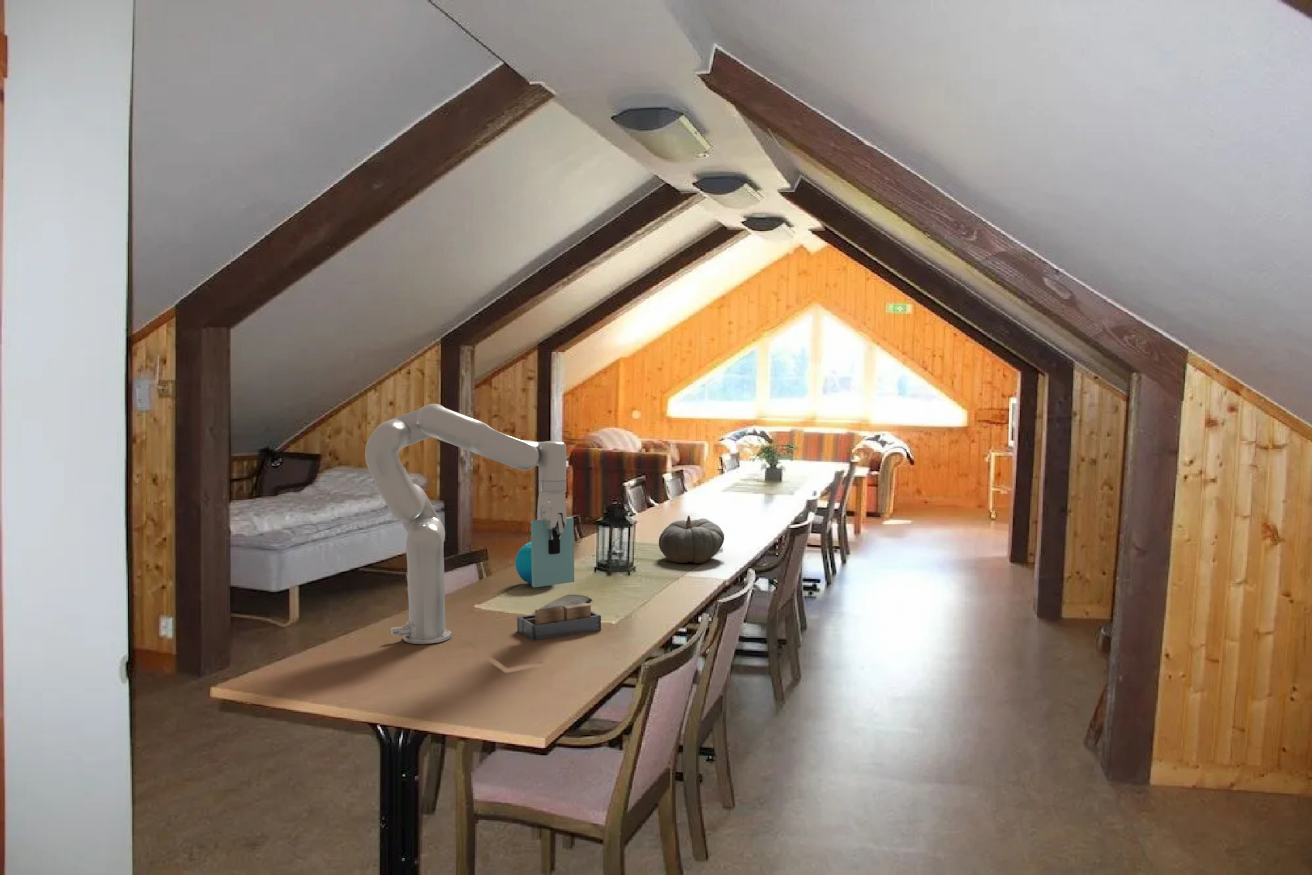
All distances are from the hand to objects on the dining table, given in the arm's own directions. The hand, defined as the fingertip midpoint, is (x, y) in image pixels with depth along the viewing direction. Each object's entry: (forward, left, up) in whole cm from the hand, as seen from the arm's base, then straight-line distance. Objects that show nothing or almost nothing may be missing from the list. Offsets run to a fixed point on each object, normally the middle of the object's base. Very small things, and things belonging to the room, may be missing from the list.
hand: (552, 552), depth 258 cm
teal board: (0, 0, -9) cm, 9 cm away
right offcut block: (+4, -6, -21) cm, 22 cm away
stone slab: (+11, +19, -23) cm, 32 cm away
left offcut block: (-4, -6, -21) cm, 22 cm away
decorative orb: (+19, +56, -22) cm, 63 cm away
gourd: (+85, +63, -22) cm, 109 cm away
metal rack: (0, -3, -22) cm, 22 cm away
